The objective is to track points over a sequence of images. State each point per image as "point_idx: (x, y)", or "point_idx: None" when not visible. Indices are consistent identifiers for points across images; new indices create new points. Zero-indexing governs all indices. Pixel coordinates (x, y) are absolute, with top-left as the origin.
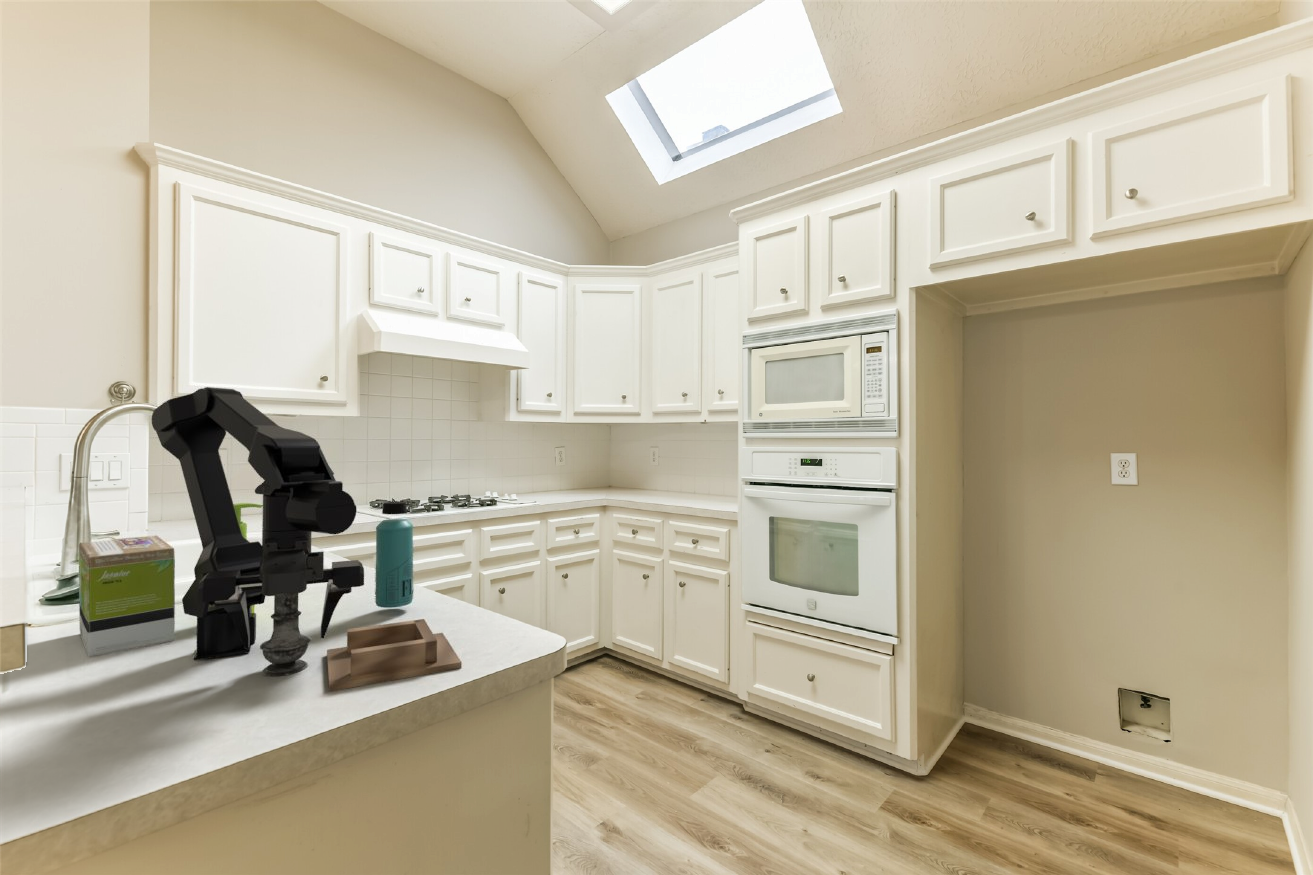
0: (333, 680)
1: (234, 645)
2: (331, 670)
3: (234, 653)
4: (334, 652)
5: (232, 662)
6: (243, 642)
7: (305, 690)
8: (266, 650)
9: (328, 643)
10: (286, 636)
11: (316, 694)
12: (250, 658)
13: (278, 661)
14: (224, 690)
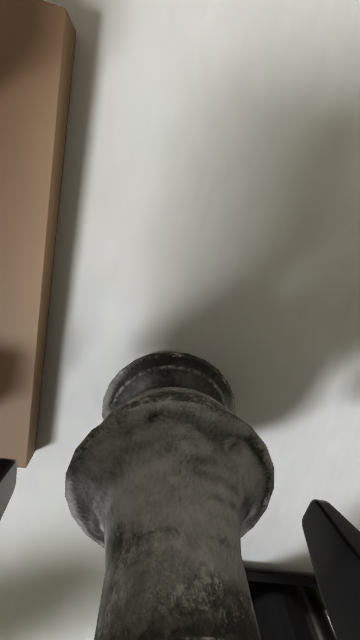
0: (39, 68)
1: (257, 608)
2: (33, 228)
3: (254, 575)
4: (3, 427)
5: (268, 531)
6: (352, 528)
7: (158, 138)
8: (263, 442)
9: (19, 540)
10: (185, 489)
11: (129, 42)
12: None
13: (207, 395)
14: (353, 341)
